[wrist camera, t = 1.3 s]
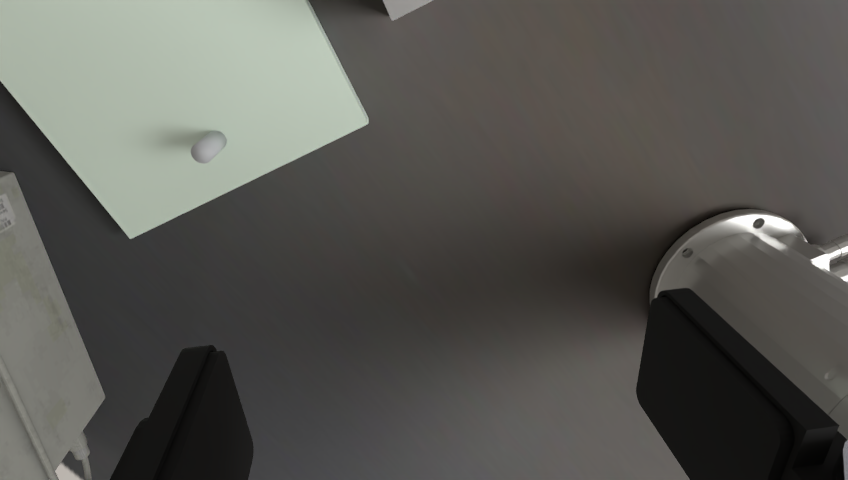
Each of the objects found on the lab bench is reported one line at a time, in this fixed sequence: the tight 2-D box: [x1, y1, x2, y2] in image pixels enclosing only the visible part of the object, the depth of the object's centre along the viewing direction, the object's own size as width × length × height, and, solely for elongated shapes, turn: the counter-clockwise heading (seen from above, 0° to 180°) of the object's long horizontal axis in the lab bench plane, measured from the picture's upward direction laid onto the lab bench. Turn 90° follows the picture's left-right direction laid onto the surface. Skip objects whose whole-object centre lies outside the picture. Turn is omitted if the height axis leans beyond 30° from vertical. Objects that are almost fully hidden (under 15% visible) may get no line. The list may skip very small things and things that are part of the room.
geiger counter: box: [0, 171, 105, 480], centre depth 32 cm, size 14×6×25 cm
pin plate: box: [0, 0, 369, 239], centre depth 28 cm, size 18×20×4 cm
